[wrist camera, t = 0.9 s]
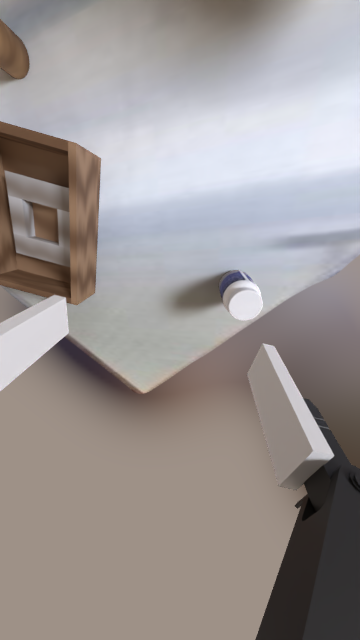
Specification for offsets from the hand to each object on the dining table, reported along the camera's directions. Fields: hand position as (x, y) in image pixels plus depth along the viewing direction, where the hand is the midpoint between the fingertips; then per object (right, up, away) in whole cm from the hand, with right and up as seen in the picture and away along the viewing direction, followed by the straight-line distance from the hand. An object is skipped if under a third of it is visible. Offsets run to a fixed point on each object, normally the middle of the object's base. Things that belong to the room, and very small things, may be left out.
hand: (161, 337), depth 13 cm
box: (-21, +18, +21) cm, 35 cm away
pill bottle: (+11, +8, +23) cm, 27 cm away
